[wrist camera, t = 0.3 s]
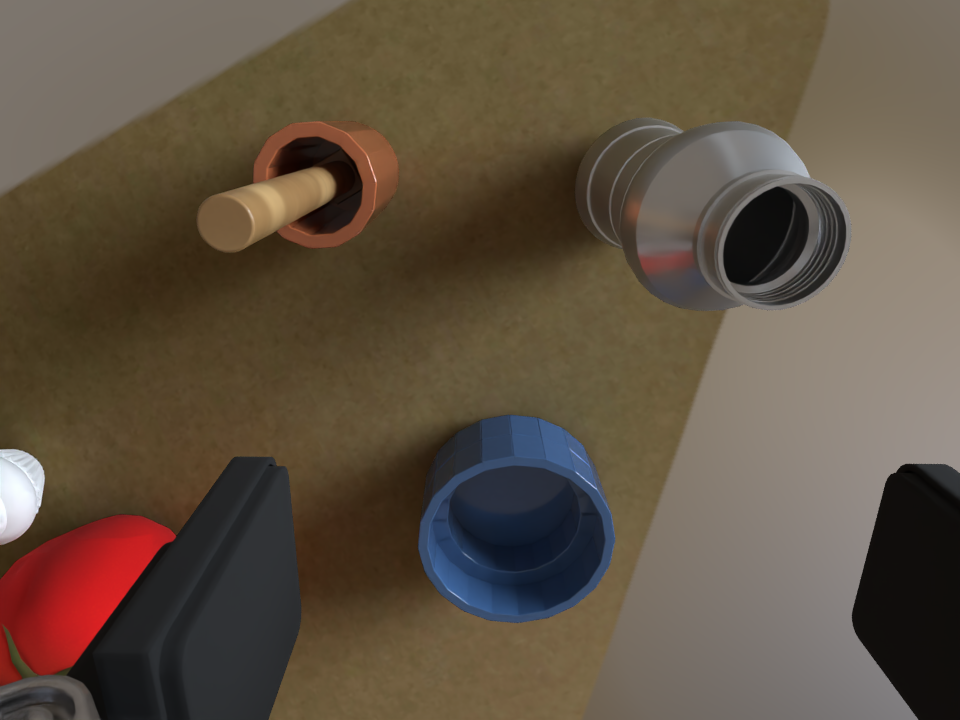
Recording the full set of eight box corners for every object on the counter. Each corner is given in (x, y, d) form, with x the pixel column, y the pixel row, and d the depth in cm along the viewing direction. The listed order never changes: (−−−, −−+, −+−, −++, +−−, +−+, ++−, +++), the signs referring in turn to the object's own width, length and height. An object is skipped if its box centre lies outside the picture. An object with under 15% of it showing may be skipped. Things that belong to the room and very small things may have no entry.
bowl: (393, 460, 43) (381, 513, 37) (547, 381, 41) (558, 422, 35) (479, 584, 46) (479, 649, 40) (624, 516, 44) (646, 573, 38)
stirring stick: (324, 162, 36) (172, 205, 18) (352, 145, 35) (226, 170, 17) (347, 198, 36) (222, 274, 18) (375, 182, 36) (275, 242, 18)
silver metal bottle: (711, 169, 36) (961, 220, 18) (628, 264, 38) (774, 403, 19) (625, 91, 35) (797, 56, 16) (543, 193, 37) (612, 269, 18)
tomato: (246, 508, 44) (171, 636, 33) (219, 660, 48) (145, 818, 37) (57, 466, 43) (-86, 584, 32) (47, 626, 47) (-82, 778, 36)
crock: (285, 153, 36) (226, 163, 28) (366, 102, 35) (332, 96, 27) (338, 236, 38) (298, 270, 29) (417, 189, 37) (400, 210, 28)
